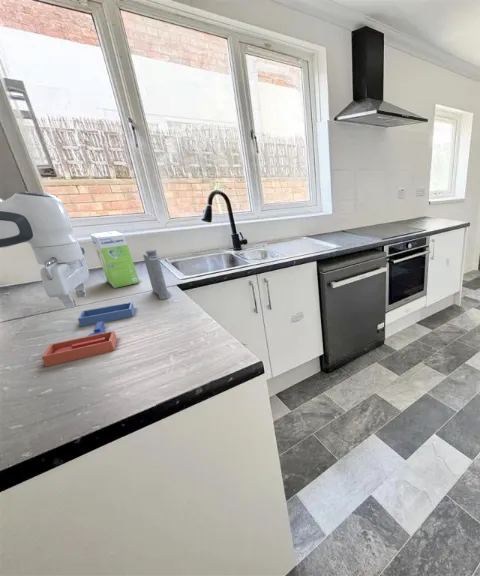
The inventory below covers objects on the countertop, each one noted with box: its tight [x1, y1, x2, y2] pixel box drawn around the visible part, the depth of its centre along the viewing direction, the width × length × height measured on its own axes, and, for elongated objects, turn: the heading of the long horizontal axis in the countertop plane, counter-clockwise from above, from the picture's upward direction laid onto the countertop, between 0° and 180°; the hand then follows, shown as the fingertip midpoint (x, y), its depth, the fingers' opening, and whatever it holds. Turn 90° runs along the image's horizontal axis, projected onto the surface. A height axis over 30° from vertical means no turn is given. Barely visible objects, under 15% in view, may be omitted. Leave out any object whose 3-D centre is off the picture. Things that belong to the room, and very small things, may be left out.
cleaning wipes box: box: [90, 230, 140, 289], centre depth 148 cm, size 18×10×24 cm, turn 49°
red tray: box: [41, 330, 118, 367], centre depth 89 cm, size 14×8×4 cm, turn 125°
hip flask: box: [142, 249, 170, 300], centre depth 131 cm, size 16×4×20 cm, turn 45°
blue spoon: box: [87, 321, 106, 336], centre depth 99 cm, size 11×4×3 cm, turn 35°
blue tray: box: [77, 301, 135, 328], centre depth 111 cm, size 14×8×4 cm, turn 125°
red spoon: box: [54, 338, 106, 353], centre depth 89 cm, size 11×4×3 cm, turn 124°
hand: (76, 301), depth 88 cm, fingers open, 8 cm apart
